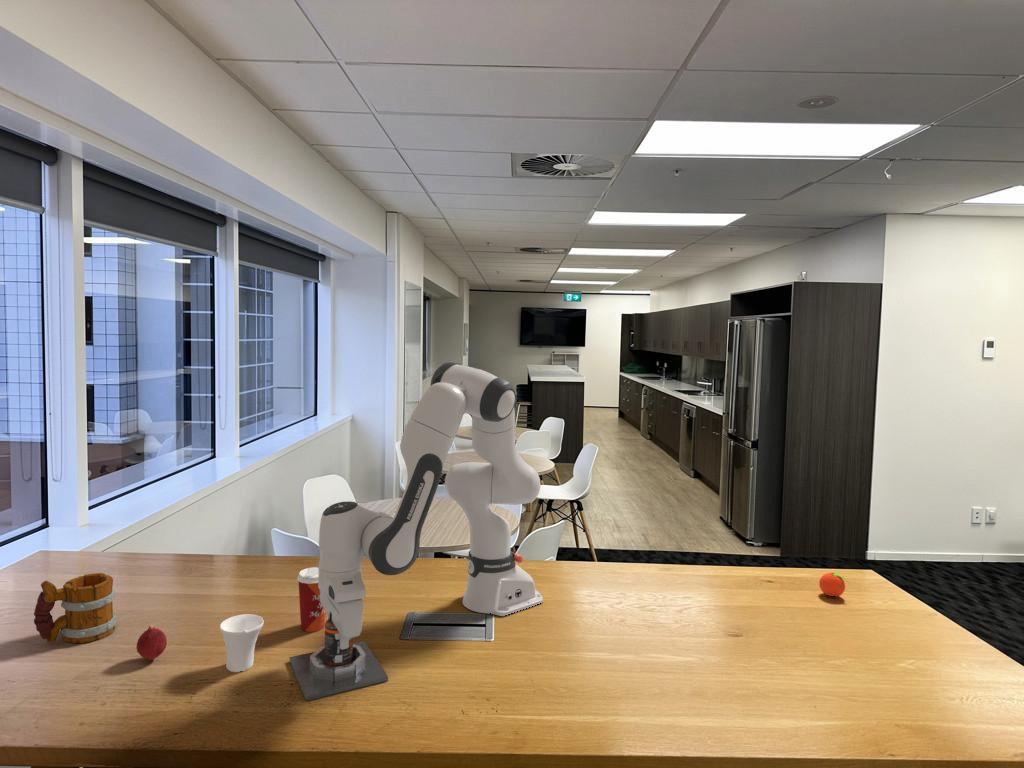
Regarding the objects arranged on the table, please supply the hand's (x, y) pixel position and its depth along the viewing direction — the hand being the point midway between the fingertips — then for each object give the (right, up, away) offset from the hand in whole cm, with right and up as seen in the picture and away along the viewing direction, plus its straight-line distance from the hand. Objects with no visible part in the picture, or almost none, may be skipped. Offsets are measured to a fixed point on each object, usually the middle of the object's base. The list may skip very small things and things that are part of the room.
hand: (338, 640), depth 141 cm
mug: (-64, -4, +11) cm, 65 cm away
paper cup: (-12, -5, +21) cm, 24 cm away
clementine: (+133, -8, +52) cm, 143 cm away
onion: (-42, -6, +2) cm, 42 cm away
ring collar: (0, -7, +1) cm, 7 cm away
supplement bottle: (0, -5, 0) cm, 5 cm away
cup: (-22, -6, +1) cm, 23 cm away
